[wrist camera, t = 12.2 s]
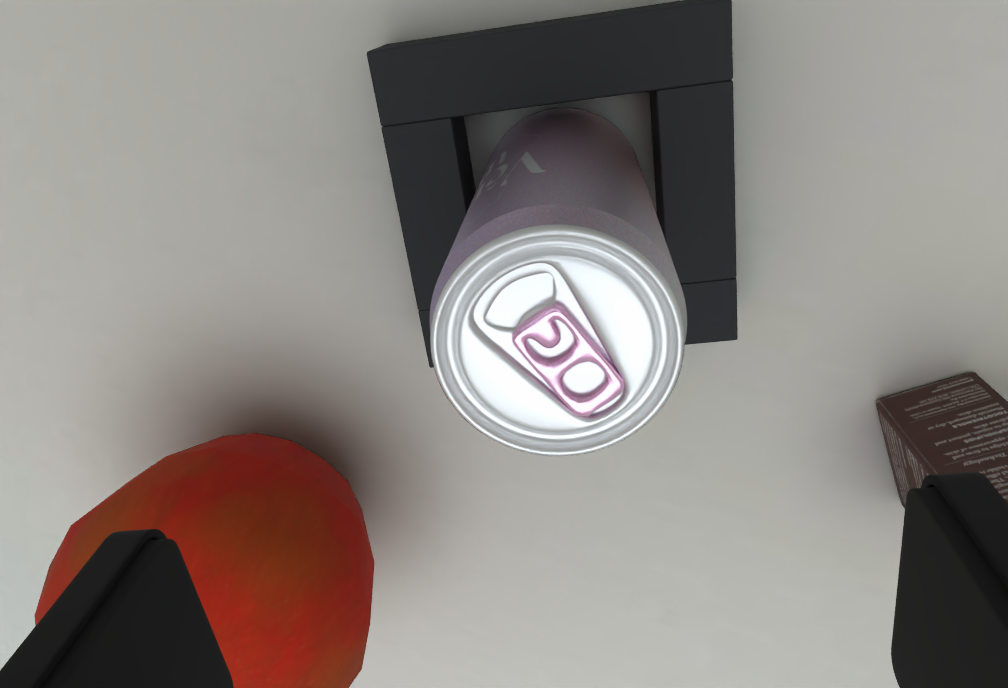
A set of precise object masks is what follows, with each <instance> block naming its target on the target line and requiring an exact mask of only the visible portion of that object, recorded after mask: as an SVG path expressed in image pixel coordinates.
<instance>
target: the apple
mask: <svg viewBox="0 0 1008 688" xmlns="http://www.w3.org/2000/svg"><path fill="white" fill-rule="evenodd" d="M143 529H158V530H160V531H162V532H163V533H164V534H165V536H166V538H167V539H172V540H174V541H175V542H176V543H177V545H178V547H179V549H180V552H181V554H182V557H183V559H184V561H185V564H186V566H187V569H188V571H189V574H190V576H191V579H192V581H193V583H194V586H195V588H196V591H197V593H198V596H199V598H200V601H201V603H202V606H203V608H204V610H205V613H206V615H207V618H208V620H209V623H210V625H211V628H212V630H213V632H214V635H215V637H216V640H217V642H218V645H219V647H220V650H221V652H222V654H223V657H224V659H225V662H226V664H227V667H228V669H229V672H230V674H231V677H232V680H233V687H234V688H349V687H350V685H351V684H352V682H353V681H354V679H355V678H356V676H357V675H358V674H359V672H360V671H361V669H362V664H363V659H364V653H365V648H366V642H367V637H368V632H369V626H370V616H371V602H372V588H373V573H374V559H373V555H372V551H371V547H370V543H369V538H368V534H367V530H366V526H365V522H364V517H363V513H362V509H361V507H360V505H359V503H358V501H357V499H356V497H355V495H354V493H353V491H352V489H351V487H350V485H349V483H348V481H347V480H346V479H345V478H344V477H343V476H342V475H340V474H339V473H338V472H337V471H336V470H335V469H334V468H333V467H332V466H330V465H329V464H328V463H327V462H326V461H325V460H324V459H323V458H321V457H319V456H318V455H316V454H314V453H312V452H311V451H309V450H307V449H305V448H303V447H302V446H300V445H298V444H296V443H295V442H293V441H291V440H286V439H281V438H277V437H272V436H268V435H263V434H258V433H252V434H241V435H231V436H222V437H220V438H217V439H214V440H211V441H208V442H206V443H203V444H200V445H197V446H194V447H192V448H189V449H186V450H183V451H180V452H178V453H175V454H172V455H169V456H166V457H164V458H163V459H162V460H160V461H159V462H157V463H156V464H154V465H153V466H151V467H150V468H148V469H147V470H145V471H144V472H142V473H141V474H139V475H138V476H136V477H135V478H133V479H132V480H130V481H129V482H128V483H126V484H125V485H124V486H122V487H121V488H120V489H118V490H117V491H116V492H115V493H113V494H112V495H111V496H109V497H108V498H107V499H105V500H104V501H103V502H101V503H100V504H99V505H97V506H96V507H95V508H93V509H92V510H91V511H90V512H88V513H87V514H86V515H84V516H83V517H82V518H80V519H79V520H78V521H76V522H75V523H74V524H72V525H71V527H70V528H69V530H68V532H67V534H66V536H65V538H64V540H63V542H62V544H61V545H60V547H59V549H58V551H57V553H56V555H55V557H54V559H53V561H52V562H51V564H50V566H49V570H48V573H47V576H46V580H45V583H44V586H43V590H42V593H41V596H40V600H39V603H38V606H37V610H36V613H35V624H36V625H37V624H38V623H39V621H40V620H41V619H42V618H43V616H44V615H45V614H46V613H47V611H48V610H49V609H50V608H51V606H52V605H53V604H54V603H55V601H56V600H57V599H58V598H59V596H60V595H61V594H62V593H63V591H64V590H65V589H66V588H67V586H68V585H69V584H70V583H71V581H72V580H73V579H74V578H75V576H76V575H77V574H78V572H79V571H80V570H81V569H82V567H83V566H84V565H85V564H86V562H87V561H88V560H89V559H90V557H91V556H92V555H93V554H94V552H95V551H96V550H97V549H98V547H99V546H100V545H101V544H102V542H103V541H104V540H105V539H106V538H107V537H108V536H109V535H110V534H111V533H114V532H117V531H129V530H143Z"/></svg>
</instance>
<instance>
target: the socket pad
mask: <svg viewBox="0 0 1008 688" xmlns="http://www.w3.org/2000/svg"><path fill="white" fill-rule="evenodd" d="M367 57H368V62H369V67H370V72H371V77H372V82H373V87H374V92H375V97H376V102H377V107H378V112H379V117H380V122H381V125H382V126H383V127H382V133H383V138H384V143H385V148H386V153H387V158H388V163H389V168H390V172H391V177H392V182H393V187H394V192H395V197H396V202H397V207H398V212H399V217H400V222H401V227H402V232H403V237H404V242H405V247H406V252H407V257H408V262H409V267H410V272H411V277H412V281H413V286H414V291H415V296H416V301H417V306H418V310H419V316H420V321H421V326H422V331H423V336H424V341H425V346H426V351H427V356H428V361H429V366H430V367H434V365H433V361H432V355H431V344H430V336H431V334H430V307H431V301H432V295H433V292H434V288H435V285H436V283H437V280H438V277H439V275H440V273H441V271H442V268H443V266H444V264H445V261H446V259H447V257H448V255H449V252H450V250H451V248H452V246H453V243H454V241H455V239H456V236H457V234H458V232H459V230H460V227H461V225H462V223H463V220H464V218H465V216H466V214H467V211H468V209H469V207H470V204H471V202H472V200H473V198H474V195H475V193H476V191H475V185H474V178H473V172H472V166H471V159H470V153H469V147H468V140H467V134H466V128H465V121H464V116H466V115H474V114H481V113H489V112H496V111H504V110H511V109H519V108H526V107H534V106H541V105H549V104H556V103H564V102H571V101H579V100H586V99H594V98H601V97H609V96H616V95H624V94H631V93H639V92H646V91H650V108H651V124H652V141H653V157H654V174H655V191H656V207H657V218H658V221H659V224H660V226H661V229H662V232H663V235H664V238H665V241H666V244H667V247H668V250H669V253H670V255H671V258H672V261H673V264H674V267H675V270H676V273H677V276H678V279H679V282H680V285H681V287H682V291H683V294H684V298H685V304H686V311H687V333H686V340H685V344H696V343H707V342H718V341H729V340H737V284H736V231H735V173H734V114H733V82H732V80H731V79H732V78H733V58H732V1H731V0H683V1H676V2H669V3H662V4H656V5H649V6H642V7H635V8H629V9H622V10H615V11H608V12H601V13H595V14H588V15H581V16H574V17H568V18H561V19H554V20H547V21H541V22H534V23H527V24H520V25H513V26H507V27H500V28H493V29H486V30H480V31H473V32H466V33H459V34H452V35H446V36H439V37H432V38H425V39H419V40H412V41H405V42H398V43H391V44H386V45H383V46H381V47H378V48H376V49H373V50H371V51H368V52H367Z"/></svg>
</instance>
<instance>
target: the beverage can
mask: <svg viewBox="0 0 1008 688" xmlns="http://www.w3.org/2000/svg"><path fill="white" fill-rule="evenodd" d="M686 333H687V311H686V304H685V298H684V294H683V291H682V287H681V285H680V282H679V279H678V276H677V273H676V270H675V267H674V264H673V261H672V258H671V255H670V253H669V250H668V247H667V244H666V241H665V238H664V235H663V232H662V229H661V226H660V224H659V221H658V218H657V215H656V212H655V209H654V206H653V203H652V200H651V197H650V194H649V192H648V189H647V186H646V183H645V180H644V177H643V174H642V171H641V168H640V165H639V162H638V160H637V157H636V154H635V152H634V150H633V148H632V147H631V145H630V143H629V142H628V140H627V139H626V138H625V136H624V135H623V134H622V133H621V132H620V131H619V130H618V129H617V128H616V127H615V126H614V125H612V124H611V123H610V122H608V121H607V120H605V119H603V118H602V117H600V116H598V115H595V114H593V113H590V112H587V111H583V110H579V109H571V108H558V109H550V110H546V111H542V112H539V113H536V114H534V115H531V116H529V117H527V118H525V119H524V120H522V121H521V122H519V123H518V124H516V125H515V126H514V127H513V128H512V129H510V130H509V131H508V132H507V133H506V134H505V136H504V137H503V138H502V139H501V141H500V142H499V144H498V145H497V147H496V148H495V150H494V152H493V154H492V157H491V159H490V161H489V163H488V166H487V168H486V170H485V172H484V175H483V177H482V179H481V182H480V184H479V186H478V188H477V191H476V193H475V195H474V198H473V200H472V202H471V204H470V207H469V209H468V211H467V214H466V216H465V218H464V220H463V223H462V225H461V227H460V230H459V232H458V234H457V236H456V239H455V241H454V243H453V246H452V248H451V250H450V252H449V255H448V257H447V259H446V261H445V264H444V266H443V268H442V271H441V273H440V275H439V277H438V280H437V283H436V285H435V288H434V292H433V295H432V301H431V307H430V334H431V336H430V344H431V355H432V361H433V365H434V369H435V372H436V375H437V378H438V381H439V383H440V385H441V387H442V389H443V391H444V393H445V395H446V396H447V398H448V400H449V401H450V402H451V404H452V405H453V407H454V408H455V409H456V410H457V411H458V413H459V414H460V415H461V416H462V417H463V418H464V419H465V420H466V421H467V422H468V423H470V424H471V425H472V426H473V427H474V428H476V429H477V430H478V431H480V432H481V433H483V434H484V435H486V436H487V437H489V438H491V439H493V440H494V441H496V442H498V443H500V444H503V445H505V446H507V447H510V448H513V449H516V450H519V451H522V452H527V453H531V454H537V455H545V456H572V455H580V454H586V453H590V452H594V451H598V450H601V449H604V448H607V447H609V446H612V445H614V444H616V443H618V442H620V441H622V440H624V439H626V438H628V437H629V436H631V435H632V434H634V433H635V432H637V431H638V430H640V429H641V428H642V427H643V426H645V425H646V424H647V423H648V422H649V421H650V420H651V419H652V418H653V417H654V416H655V415H656V414H657V413H658V412H659V410H660V409H661V408H662V407H663V405H664V404H665V402H666V401H667V399H668V398H669V396H670V394H671V393H672V391H673V389H674V387H675V384H676V382H677V379H678V377H679V374H680V370H681V366H682V362H683V356H684V345H685V340H686Z"/></svg>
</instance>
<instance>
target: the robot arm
mask: <svg viewBox="0 0 1008 688" xmlns="http://www.w3.org/2000/svg"><path fill="white" fill-rule="evenodd" d="M891 656H892V664H893V669H894V673H895V677H896V679H897V682H898V685H899V687H900V688H1008V503H1007V502H1006V501H1005V499H1004V498H1003V497H1002V496H1001V494H1000V493H999V492H998V491H997V489H996V488H995V487H994V486H993V485H992V483H991V482H990V481H989V480H988V478H987V477H985V476H984V475H983V474H982V473H979V472H964V473H950V474H935V475H928V476H926V477H925V478H924V479H923V481H922V485H921V488H912V489H910V490H909V491H908V493H907V498H906V506H905V516H904V526H903V537H902V547H901V557H900V567H899V577H898V587H897V597H896V607H895V617H894V627H893V637H892V648H891ZM0 688H234V687H233V680H232V677H231V674H230V672H229V669H228V667H227V664H226V662H225V659H224V657H223V654H222V652H221V650H220V647H219V645H218V642H217V640H216V637H215V635H214V632H213V630H212V628H211V625H210V623H209V620H208V618H207V615H206V613H205V610H204V608H203V606H202V603H201V601H200V598H199V596H198V593H197V591H196V588H195V586H194V583H193V581H192V579H191V576H190V574H189V571H188V569H187V566H186V564H185V561H184V559H183V557H182V554H181V552H180V549H179V547H178V545H177V543H176V542H175V541H174V540H172V539H167V538H166V536H165V534H164V533H163V532H162V531H160V530H158V529H143V530H129V531H117V532H114V533H111V534H110V535H109V536H108V537H107V538H106V539H105V540H104V541H103V542H102V544H101V545H100V546H99V547H98V549H97V550H96V551H95V552H94V554H93V555H92V556H91V557H90V559H89V560H88V561H87V562H86V564H85V565H84V566H83V567H82V569H81V570H80V571H79V572H78V574H77V575H76V576H75V578H74V579H73V580H72V581H71V583H70V584H69V585H68V586H67V588H66V589H65V590H64V591H63V593H62V594H61V595H60V596H59V598H58V599H57V600H56V601H55V603H54V604H53V605H52V606H51V608H50V609H49V610H48V611H47V613H46V614H45V615H44V616H43V618H42V619H41V620H40V621H39V623H38V624H37V625H36V626H35V628H34V629H33V630H32V631H31V633H30V634H29V635H28V637H27V638H26V639H25V640H24V642H23V643H22V644H21V645H20V647H19V648H18V649H17V650H16V652H15V653H14V654H13V655H12V657H11V658H10V659H9V660H8V662H7V663H6V664H5V665H4V667H3V668H2V669H1V670H0Z"/></svg>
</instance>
